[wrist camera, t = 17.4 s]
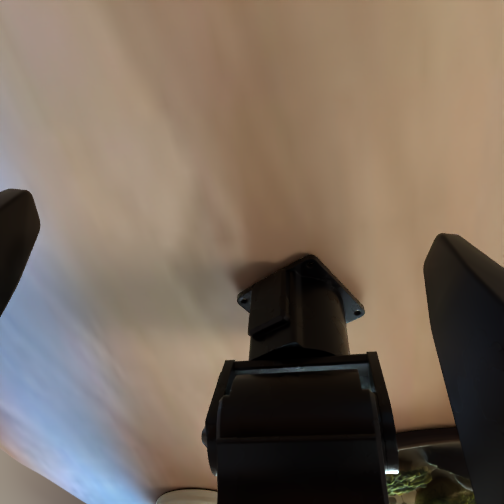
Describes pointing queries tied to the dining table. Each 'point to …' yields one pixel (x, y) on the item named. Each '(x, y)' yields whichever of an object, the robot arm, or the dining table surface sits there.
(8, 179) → the dining table surface
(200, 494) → the jar
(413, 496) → the salad plate
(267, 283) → the robot arm
